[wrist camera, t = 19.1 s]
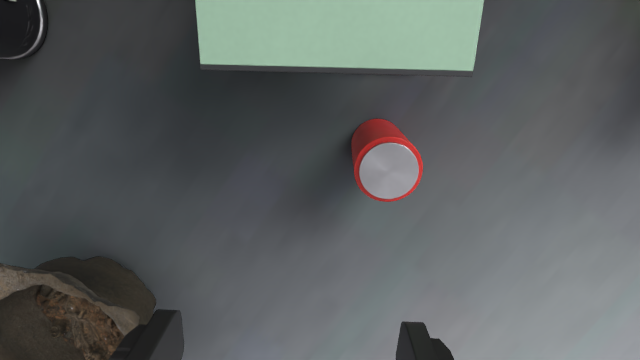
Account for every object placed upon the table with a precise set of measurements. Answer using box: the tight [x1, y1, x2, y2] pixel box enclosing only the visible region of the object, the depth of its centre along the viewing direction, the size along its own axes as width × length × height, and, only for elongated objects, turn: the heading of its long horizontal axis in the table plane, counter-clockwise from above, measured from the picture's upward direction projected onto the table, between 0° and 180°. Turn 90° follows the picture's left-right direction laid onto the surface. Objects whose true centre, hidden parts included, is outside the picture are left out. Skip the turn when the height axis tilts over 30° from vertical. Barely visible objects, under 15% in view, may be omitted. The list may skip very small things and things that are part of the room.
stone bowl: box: [0, 256, 156, 360], centre depth 42 cm, size 25×25×9 cm
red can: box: [351, 119, 423, 202], centre depth 32 cm, size 5×5×10 cm
